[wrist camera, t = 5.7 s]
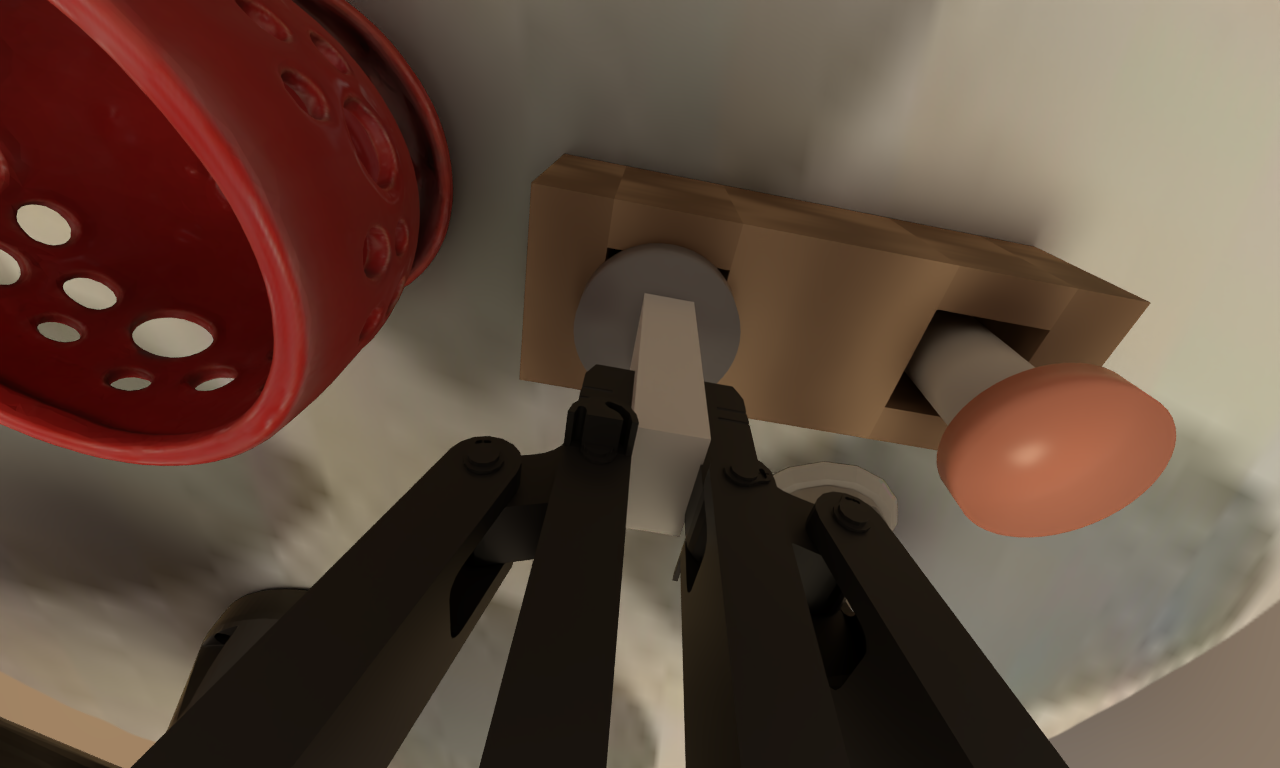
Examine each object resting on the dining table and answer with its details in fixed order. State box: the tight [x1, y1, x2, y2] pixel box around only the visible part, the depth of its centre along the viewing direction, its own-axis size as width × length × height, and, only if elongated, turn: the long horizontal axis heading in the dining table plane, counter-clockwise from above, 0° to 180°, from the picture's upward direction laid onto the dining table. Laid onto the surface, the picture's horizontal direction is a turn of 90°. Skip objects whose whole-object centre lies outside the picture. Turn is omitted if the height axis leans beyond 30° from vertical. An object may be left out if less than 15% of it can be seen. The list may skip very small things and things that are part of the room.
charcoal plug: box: [574, 243, 741, 384], centre depth 19 cm, size 5×5×7 cm
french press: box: [773, 462, 897, 608], centre depth 20 cm, size 10×12×25 cm
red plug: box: [904, 310, 1176, 537], centre depth 17 cm, size 5×5×7 cm
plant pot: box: [0, 0, 453, 466], centre depth 16 cm, size 13×13×12 cm
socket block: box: [520, 154, 1150, 450], centre depth 20 cm, size 20×7×6 cm, turn 80°
